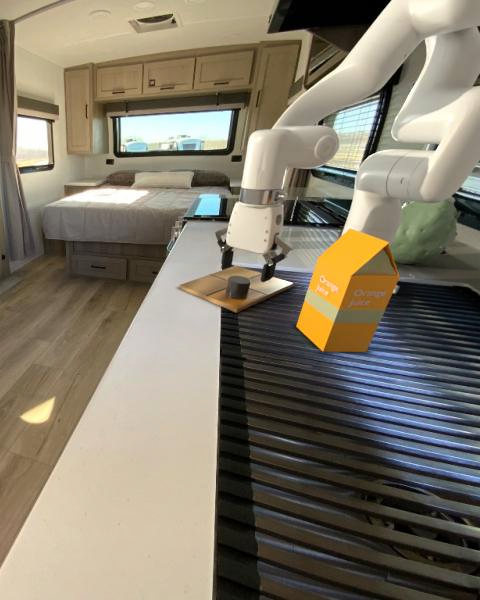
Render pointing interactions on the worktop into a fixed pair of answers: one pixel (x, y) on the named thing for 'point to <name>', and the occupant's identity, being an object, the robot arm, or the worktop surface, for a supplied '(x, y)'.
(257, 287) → the grid board
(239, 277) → the black ridged cylinder
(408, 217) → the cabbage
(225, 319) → the worktop surface
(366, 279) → the orange juice
